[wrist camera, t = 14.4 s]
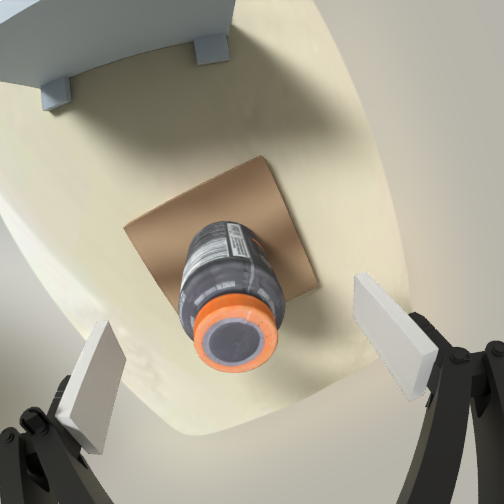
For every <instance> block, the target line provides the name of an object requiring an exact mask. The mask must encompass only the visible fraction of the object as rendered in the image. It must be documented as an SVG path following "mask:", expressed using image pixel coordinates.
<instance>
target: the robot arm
mask: <svg viewBox="0 0 504 504" xmlns="http://www.w3.org/2000/svg"><path fill="white" fill-rule="evenodd" d="M353 318H354V320H355V321H356V323H357V324H358V325H359V327H360V328H361V330H362V331H363V333H364V334H365V336H366V337H367V339H368V340H369V341H370V343H371V344H372V346H373V347H374V349H375V350H376V352H377V353H378V355H379V356H380V358H381V359H382V361H383V362H384V364H385V365H386V367H387V368H388V370H389V371H390V373H391V374H392V376H393V377H394V379H395V380H396V382H397V384H398V385H399V387H400V388H401V390H402V391H403V393H404V394H405V396H406V398H407V399H408V401H411V400H414V399H416V398H418V397H421V396H423V395H424V393H425V390H426V387H428V388H429V390H430V391H431V394H430V396H429V399H428V401H427V404H426V406H425V407H427V410H426V414H425V418H424V422H423V426H422V429H421V433H420V437H419V440H418V444H417V447H416V450H415V454H414V457H413V460H412V463H411V466H410V469H409V472H408V474H407V477H406V480H405V483H404V486H403V488H402V491H401V493H400V495H399V498H398V500H397V503H396V504H450V502H451V499H452V495H453V492H454V488H455V484H456V480H457V476H458V472H459V468H460V463H461V458H462V453H463V448H464V442H465V436H466V430H467V422H468V415H469V406H471V412H472V418H473V425H474V433H475V443H476V453H477V467H478V496H479V497H478V504H504V343H503V342H501V341H491V342H489V343H488V344H487V346H486V348H485V351H482V352H476V353H469V351H467V350H466V349H464V348H460V347H452V346H451V344H450V343H449V342H448V341H447V340H446V339H445V338H444V337H443V336H442V335H441V334H440V333H439V332H438V331H437V330H435V327H434V326H433V325H432V324H430V322H429V321H428V320H427V319H426V318H425V317H424V316H422V315H420V314H418V313H416V312H413V313H410V314H407V313H406V312H405V311H404V310H403V309H402V308H401V307H400V306H399V305H398V304H397V303H396V302H395V301H394V299H393V298H392V297H391V296H390V295H389V294H388V293H387V292H386V291H385V290H384V289H383V288H382V287H381V286H380V285H379V284H378V283H377V282H376V281H375V280H374V279H373V278H372V277H371V276H370V275H369V274H368V273H367V272H366V273H361V274H357V275H354V307H353ZM125 362H126V357H125V355H124V353H123V351H122V349H121V347H120V345H119V343H118V341H117V339H116V337H115V334H114V332H113V330H112V328H111V326H110V323H109V321H100V322H96V324H95V326H94V328H93V330H92V332H91V334H90V336H89V338H88V340H87V342H86V344H85V346H84V349H83V351H82V353H81V355H80V357H79V359H78V361H77V364H76V366H75V368H74V370H73V373H72V375H67V376H66V377H65V378H64V379H63V380H62V382H61V383H60V385H59V387H58V390H57V392H56V395H55V398H54V399H53V401H52V404H51V406H50V409H49V411H48V414H47V416H46V415H45V414H44V412H43V411H42V410H41V409H40V408H38V407H31V408H28V409H27V410H26V411H24V413H23V414H22V415H21V417H20V425H21V426H22V427H23V428H24V429H25V431H26V433H22V434H20V433H19V432H18V431H17V430H16V429H15V428H13V427H8V428H6V429H4V430H3V431H2V433H1V434H0V498H1V504H58V502H59V504H114V503H113V502H112V500H111V499H110V498H109V496H108V495H107V493H106V492H105V490H104V489H103V487H102V486H101V484H100V483H99V481H98V480H97V478H96V477H95V475H94V474H93V472H92V470H91V469H90V467H89V465H88V464H87V462H86V460H85V459H84V457H83V456H82V455H81V454H80V451H81V447H82V448H83V449H84V450H85V451H86V452H87V453H88V454H100V455H102V454H103V449H104V444H105V440H106V436H107V431H108V427H109V423H110V418H111V414H112V410H113V406H114V402H115V398H116V395H117V391H118V387H119V383H120V380H121V376H122V372H123V369H124V365H125Z"/></svg>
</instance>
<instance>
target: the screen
mask: <svg viewBox="0 0 504 504" xmlns="http://www.w3.org/2000/svg"><path fill="white" fill-rule="evenodd" d="M234 6H235V0H1V1H0V81H1V82H8V83H13V84H19V85H24V86H29V87H35V88H39V89H41V98H42V107H43V111H50V110H52V109H55V108H57V107H59V106H62V105H64V104H67V103H69V102H72V99H71V91H70V81H69V78H70V77H73V76H75V75H78V74H80V73H83V72H85V71H88V70H91V69H93V68H96V67H99V66H102V65H105V64H108V63H111V62H114V61H117V60H120V59H123V58H127V57H130V56H134V55H137V54H141V53H144V52H148V51H152V50H156V49H160V48H165V47H169V46H173V45H178V44H183V43H188V42H193V41H194V45H195V52H196V59H197V64H198V66H199V65H205V64H211V63H217V62H224V61H229V59H230V56H229V50H228V44H227V38H226V36H229V33H230V27H231V22H232V16H233V11H234Z"/></svg>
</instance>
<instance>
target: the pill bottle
mask: <svg viewBox="0 0 504 504" xmlns="http://www.w3.org/2000/svg"><path fill="white" fill-rule="evenodd" d="M178 312H179V318H180V322H181V324H182V327H183V329H184V331H185V332H186V334H187V335H188V336H189V337H190V338H191V340H192V341H194V346H195V349H196V352H197V354H198V355H199V357H200V358H201V359H202V361H203V362H205V363H206V364H207V365H209V366H210V367H211V368H214V369H216V370H218V371H222V372H229V373H240V372H246V371H249V370H252V369H254V368H257V367H259V366H260V365H262V364H263V363H265V362H266V361H267V360H268V359H269V358H270V357H271V355H272V354H273V352H274V351H275V349H276V346H277V342H278V332H277V331H278V329H279V328H280V325H281V323H282V320H283V317H284V312H285V298H284V294H283V291H282V288H281V286H280V284H279V281H278V279H277V277H276V275H275V273H274V271H273V268H272V266H271V264H270V262H269V260H268V257H267V255H266V253H265V251H264V249H263V247H262V245H261V243H260V241H259V239H258V238H257V237H256V235H255V234H254V233H253V232H252V231H251V230H250V229H249V228H247V227H246V226H244V225H242V224H240V223H237V222H232V221H219V222H215V223H211V224H209V225H207V226H206V227H204V228H203V229H201V230H200V231H199V232H198V233H197V234H196V235H195V236H194V238H193V239H192V241H191V243H190V245H189V249H188V253H187V257H186V262H185V267H184V272H183V277H182V283H181V291H180V296H179V304H178Z"/></svg>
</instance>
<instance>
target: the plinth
mask: <svg viewBox="0 0 504 504" xmlns="http://www.w3.org/2000/svg"><path fill="white" fill-rule="evenodd" d="M219 221H232V222H237V223H240V224H242V225H244V226H246V227H247V228H249V229H250V230H251V231H252V232H253V233H254V234H255V235H256V237H257V238H258V239H259V241H260V243H261V245H262V247H263V249H264V251H265V253H266V255H267V257H268V260H269V262H270V264H271V266H272V268H273V271H274V273H275V275H276V277H277V279H278V281H279V284H280V286H281V288H282V291H283V294H284V298H285V302H286V301H288V300H290V299H292V298H294V297H297V296H299V295H301V294H303V293H305V292H307V291H309V290H311V289H313V288H315V287H317V286H319V285H318V283H317V280H316V278H315V275H314V273H313V270H312V268H311V265H310V263H309V261H308V258H307V256H306V253H305V251H304V248H303V246H302V244H301V241H300V239H299V236H298V234H297V232H296V229H295V227H294V224H293V222H292V220H291V217H290V215H289V213H288V210H287V208H286V206H285V204H284V201H283V199H282V197H281V194H280V192H279V190H278V188H277V185H276V183H275V181H274V179H273V176H272V174H271V172H270V170H269V168H268V165H267V163H266V161H265V159H264V157H263V156H258V157H256V158H254V159H252V160H250V161H247V162H245V163H243V164H241V165H239V166H237V167H235V168H233V169H230V170H228V171H226V172H224V173H222V174H220V175H218V176H216V177H214V178H212V179H210V180H208V181H206V182H204V183H202V184H200V185H198V186H196V187H194V188H192V189H190V190H188V191H186V192H184V193H182V194H181V195H179V196H177V197H175V198H173V199H171V200H169V201H167V202H165V203H164V204H162V205H160V206H158V207H156V208H154V209H153V210H151V211H149V212H147V213H145V214H144V215H142V216H140V217H138V218H137V219H135V220H133V221H131V222H130V223H128V224H127V225H126V226H125V227H124V230H125V232H126V234H127V235H128V237H129V239H130V240H131V242H132V244H133V245H134V247H135V249H136V250H137V252H138V254H139V255H140V257H141V259H142V260H143V262H144V263H145V265H146V267H147V268H148V270H149V271H150V273H151V274H152V276H153V278H154V279H155V281H156V282H157V284H158V285H159V287H160V288H161V290H162V292H163V293H164V295H165V296H166V298H167V299H168V301H169V302H170V304H171V305H172V306H173V308H174V309H175V311H176V312H177V314H178V315H179V312H178V304H179V296H180V291H181V283H182V277H183V272H184V267H185V262H186V257H187V253H188V249H189V245H190V243H191V241H192V239H193V238H194V236H195V235H196V234H197V233H198V232H199V231H200V230H201V229H203V228H204V227H206V226H207V225H209V224H211V223H215V222H219Z"/></svg>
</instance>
